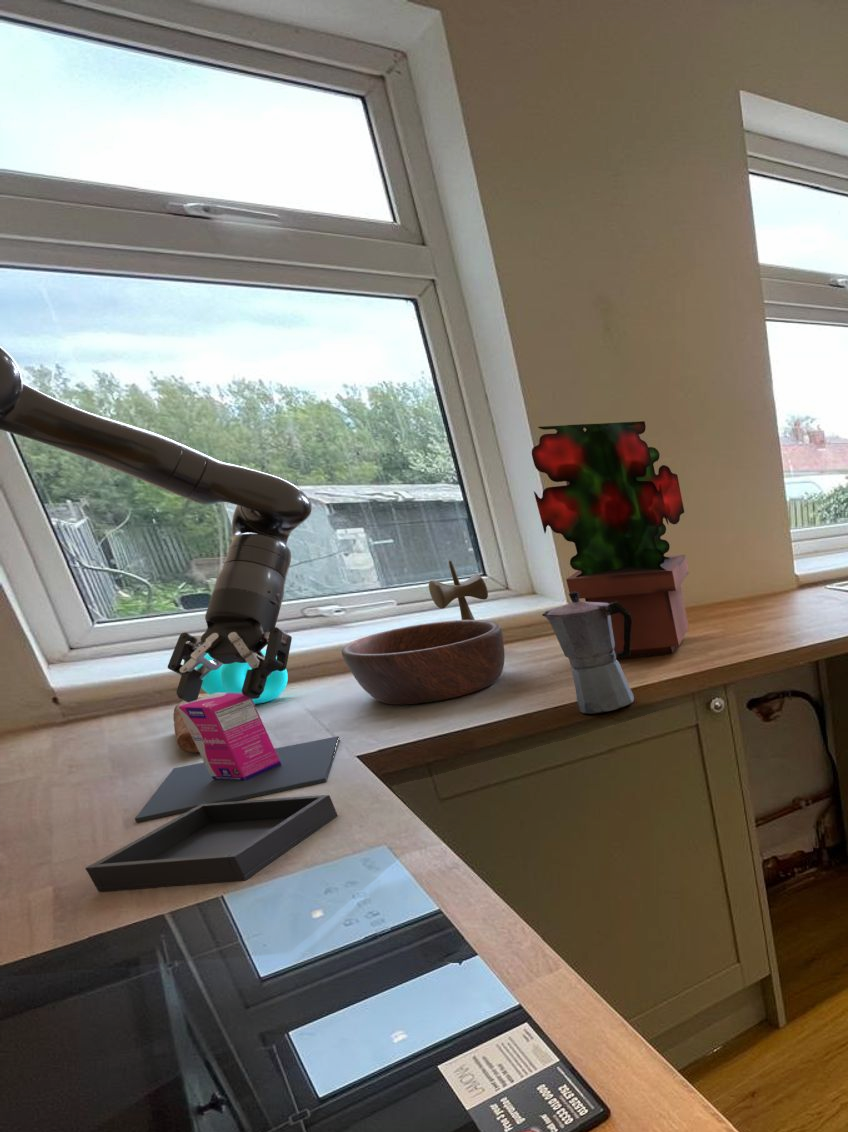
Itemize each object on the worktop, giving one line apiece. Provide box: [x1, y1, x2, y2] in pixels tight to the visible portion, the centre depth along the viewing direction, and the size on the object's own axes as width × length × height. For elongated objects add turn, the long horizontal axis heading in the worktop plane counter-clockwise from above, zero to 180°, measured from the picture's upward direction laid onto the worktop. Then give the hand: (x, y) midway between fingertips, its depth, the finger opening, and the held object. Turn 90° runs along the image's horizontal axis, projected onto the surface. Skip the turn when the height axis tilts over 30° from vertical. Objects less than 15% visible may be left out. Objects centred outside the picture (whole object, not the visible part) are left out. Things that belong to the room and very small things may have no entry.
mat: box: [134, 736, 340, 823], centre depth 118 cm, size 20×20×1 cm
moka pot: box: [541, 592, 635, 715], centre depth 137 cm, size 10×15×20 cm, turn 88°
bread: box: [172, 693, 210, 753], centre depth 133 cm, size 6×19×6 cm, turn 38°
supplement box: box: [177, 693, 282, 780], centre depth 116 cm, size 6×6×12 cm
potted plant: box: [531, 420, 690, 660], centre depth 165 cm, size 22×22×45 cm
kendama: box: [428, 560, 489, 620], centre depth 173 cm, size 6×10×20 cm, turn 142°
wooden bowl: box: [341, 619, 506, 706], centre depth 152 cm, size 25×25×10 cm
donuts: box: [195, 649, 289, 705], centre depth 150 cm, size 10×10×10 cm
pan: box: [84, 794, 339, 893], centre depth 97 cm, size 16×16×3 cm
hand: (218, 698), depth 114 cm, fingers open, 8 cm apart
